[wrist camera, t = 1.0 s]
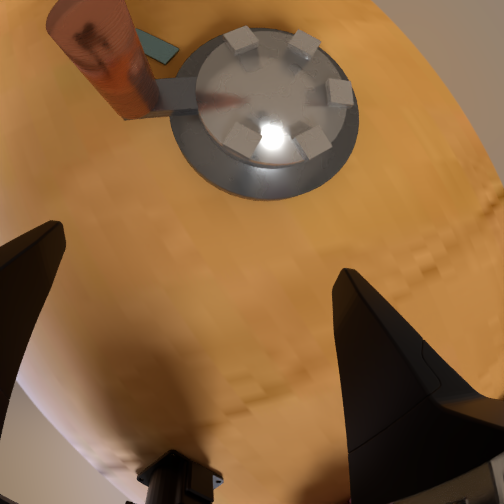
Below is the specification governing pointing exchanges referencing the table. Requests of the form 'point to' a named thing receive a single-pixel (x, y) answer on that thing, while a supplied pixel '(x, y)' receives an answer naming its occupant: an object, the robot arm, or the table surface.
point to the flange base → (234, 172)
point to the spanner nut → (214, 84)
